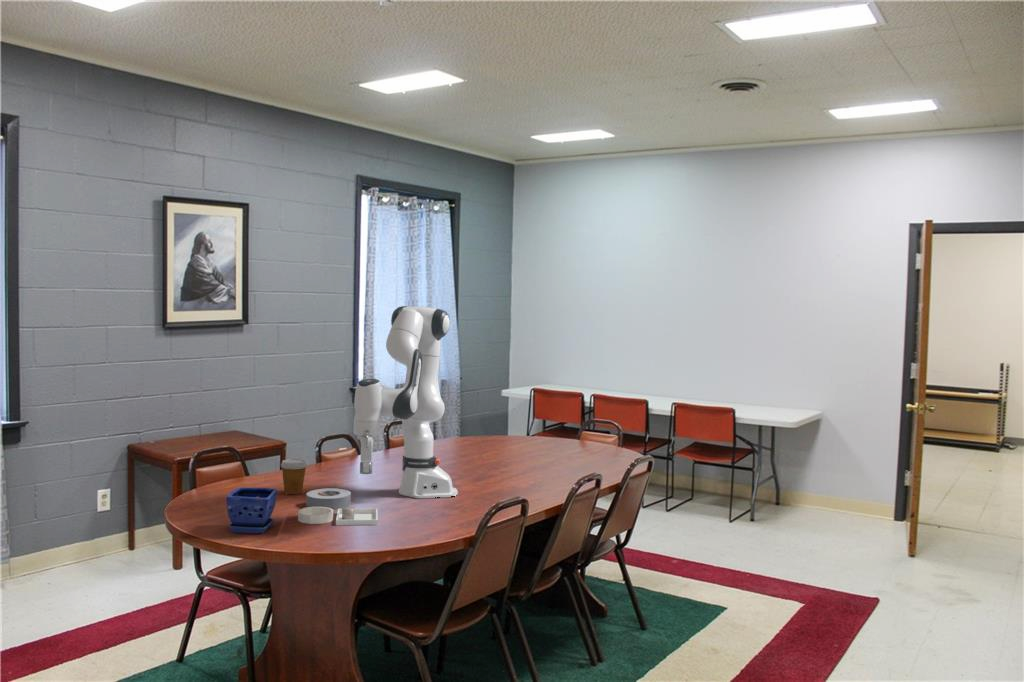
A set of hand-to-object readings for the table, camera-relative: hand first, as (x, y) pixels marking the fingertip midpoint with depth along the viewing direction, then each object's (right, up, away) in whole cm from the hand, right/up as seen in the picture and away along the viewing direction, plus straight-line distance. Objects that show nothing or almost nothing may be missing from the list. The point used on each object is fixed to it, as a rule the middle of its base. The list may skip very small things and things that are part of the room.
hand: (366, 470), depth 274 cm
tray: (-3, -17, +1) cm, 17 cm away
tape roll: (-16, -16, +18) cm, 29 cm away
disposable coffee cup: (-33, -14, +36) cm, 51 cm away
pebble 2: (0, -1, 0) cm, 1 cm away
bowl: (-16, -17, -2) cm, 23 cm away
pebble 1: (-6, -16, 0) cm, 17 cm away
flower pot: (-34, -17, -13) cm, 40 cm away
